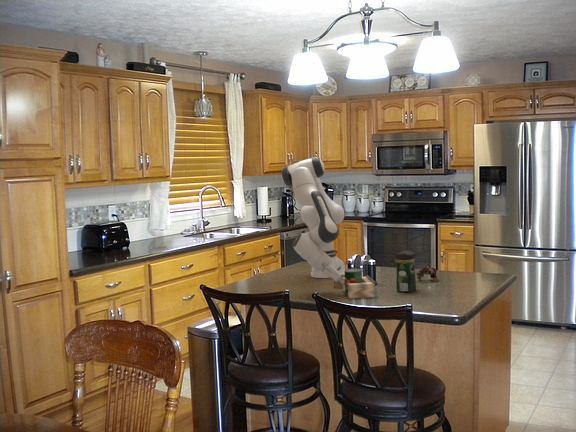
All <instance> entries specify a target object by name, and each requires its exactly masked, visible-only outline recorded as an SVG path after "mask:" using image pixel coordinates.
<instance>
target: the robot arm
mask: <svg viewBox="0 0 576 432" xmlns="http://www.w3.org/2000/svg"><path fill="white" fill-rule="evenodd" d="M325 171H326V170H325V164H324V162H323V160H322V159H321V158H320V157H318V156H313V157H311V158H306V159H304V160H300V161H297V162H295V163H292V164H291V165H287V166H285V167H284V168H282V169H281V174H280V175H281V176H280V177H281V180H282V183H284V184H285V186H286V187H289V188H290V187H291V188H292V191H293V195H294V198H295V200H296V203H298V204H299V205H301V206H302V208H301V209H300V213H299V215H300V219H301V221H302V222H303V223H304V224H305V225H306V227H308V230H309V231H307V232H303V233H301V232H300V233H298V234H297V236H296V237H295V239H294V240H293V242H292V247H293V250H294V251H295V252H296V254H298V256H300V257H301V258H302V259H303V260H305V261H307V262H308V264H309V265H310V266H311V272H310V276H311V278H317V279H329V278H331V279H332V280H333V282H334V281H335V282H337V281H339V282H340V283H342V284H344V283H345V281H344V280H343V279H342V276H341V275H343V276H345V275H344V274H345V270H346V266H345V263H344V262H343V260H341V259H340V258H339V257H338V256H337V254H339V253H340V250H339V249H335V248H334V245H335V244H334V243H335V242H334V241H336V239H338V238H339V235H340V234H339V233H340V231H339V226H338V225H337V224H341V223H342V222H343V221H344V218H345V209H344V208H343V206H341V205H340V204H337V203H336V202H335V201H333V200H332V198H330V197H329V195H328V194H327V193H326V191H325V189H324V187H323V184H322V182H321V178H322V177H323V176H324V174H325Z"/></svg>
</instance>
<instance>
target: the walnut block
mask: <svg viewBox="0 0 576 432" xmlns="http://www.w3.org/2000/svg"><path fill="white" fill-rule="evenodd" d="M341 278H342V277H341ZM343 278H344V277H343ZM343 278H342V279H343ZM333 289H344V285H343V284H342V283H340V282H339V281H337V282H335V281H334V280H333Z"/></svg>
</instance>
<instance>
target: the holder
mask: <svg viewBox="0 0 576 432" xmlns="http://www.w3.org/2000/svg"><path fill="white" fill-rule="evenodd" d="M343 280H344V281H345V277H343ZM343 285H344V288H343V292H345V283H344V284H343ZM347 297H348V298H349V299H361V298H363V299H364V298H376V282H375V281H374V279H373V278H371V277H370V276H369V275H368V274H366V275H365V276H362V283H348V295H347Z"/></svg>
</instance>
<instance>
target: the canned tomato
mask: <svg viewBox="0 0 576 432" xmlns="http://www.w3.org/2000/svg"><path fill="white" fill-rule="evenodd" d="M362 270H363V269H361V268H348V269H346V268H345V275H344V278H345V291H344V292H345V293H344V294H345V295H346V296H348V283H362V277H363V275H362V274H363V272H362Z"/></svg>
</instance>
